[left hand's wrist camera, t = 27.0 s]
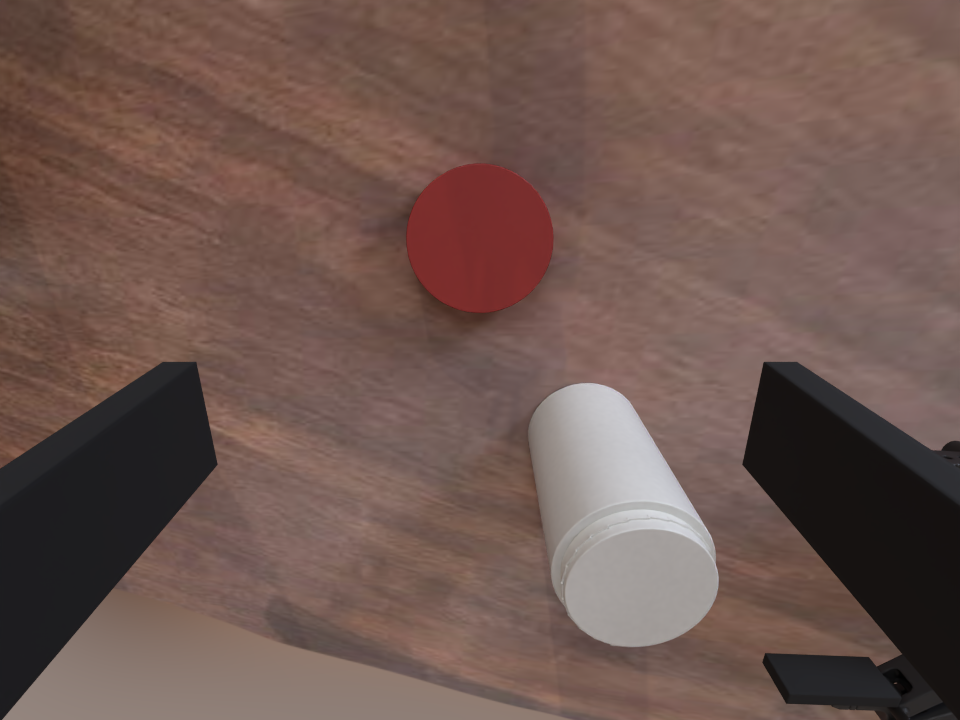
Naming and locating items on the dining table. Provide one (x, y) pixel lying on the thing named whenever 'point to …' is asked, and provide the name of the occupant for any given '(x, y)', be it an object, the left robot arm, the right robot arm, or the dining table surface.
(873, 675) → the right robot arm
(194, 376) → the left robot arm
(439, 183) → the lid
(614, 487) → the jar
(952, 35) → the dining table surface
